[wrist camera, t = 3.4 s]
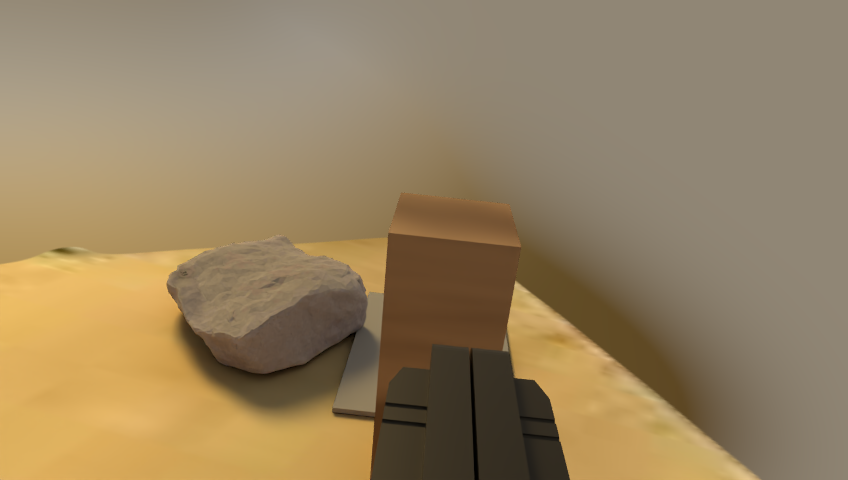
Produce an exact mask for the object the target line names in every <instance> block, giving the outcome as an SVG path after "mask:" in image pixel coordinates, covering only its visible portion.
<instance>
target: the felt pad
mask: <svg viewBox="0 0 848 480" xmlns="http://www.w3.org/2000/svg"><path fill="white" fill-rule="evenodd" d="M367 300H368V306H367V310H366V320H365V323H364V325H363V326H362V327H361V328H360V329H359V330H357V332H356V336H355V339H354V342H353V345H352V348H351V351H350V354H349V358H348V361H347V364H346V367H345V370H344V373H343V376H342V379H341V383H340V386H339V389H338V392H337V395H336V398H335V401H334V405H333V409H332V412H336V413H345V414H354V415H362V416H371V417H375V408H376V394H377V381H378V368H379V354H380V341H381V327H382V314H383V300H384V294H383V293H374V292H369V295H368V298H367ZM503 351H508V344H507V338H506V334H505V340H504V346H503ZM508 352H509V351H508Z"/></svg>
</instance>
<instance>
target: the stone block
mask: <svg viewBox="0 0 848 480" xmlns="http://www.w3.org/2000/svg"><path fill="white" fill-rule="evenodd" d="M167 288H168V292H169V293H170V295H171V296H172V298H173V299H174V300H175V302H176V303H177V304H178V308H179V309H180V310H181V311H182V312H183V314H184V317H185V320H186V321H187V322H188V324H189V325H190V326H191V328H192V329H193V331H194V332H195V334H197V335H198V336H200V337H201V338H202V339H203V340H204V342H205V344H206V345H207V346H208V347H209V348H210V350H211V352H212V354H213V356H214V357H215V358H216V360H217V361H218V362H220V363H222V364H223V365H226V366H232V367H235V368H238V369H241V370H244V371H248V372H251V373H262V374H266V373H270V372H274V371H277V370H281V369H285V368H288V367H292V366H296V365H303V364H305V363H307V362H308V361H310V360H311V359H312V358H313V357H315V356H316V355H318V354H320V353H321V352H323V351H324V350H325V349H327V348H329V347H330V346H332V345H334V344H336V343H339V342H340V341H341V340H343V339H344V338H346V337H347V336H348V335H349V334H352V333H354V332H356V331H357V330H359V329H360V328H361V327H362V326H363V325H364V323H365V320H366V310H367V306H368V300H367V296H366V294H365V291H366V289H365V287H364V285H363V282H362V279H361V277H360V275H358V274H357V273H356V272H354V271H353V270H352V269H351V268H350V267H349V266H348V265H346V264H344V263H342V262H340V261H337V260H334V259H332V258H329V257H326V256H310V255H307V254H305V253H304V252H303V251H302V250H300V249H298V248H295V246H294V245H293V244H292V243H291V242H290V240H289V239H288V238H287V237H285V236H283V235H275V236H273V237H272V238H269V239H266V240H262V241H249V242H243V243H232V244H229V245H226V246H222V247H217V248H215V249H213V250H208V251H204V252H203V253H201V254H199V255H197V256H196V257H194V258H192V259H190V260H189V261H187V262H185V263H182V264H180V265H178V266H177V270H176V271H174V272H172V273H171V274H170V275H169V278H168V281H167Z"/></svg>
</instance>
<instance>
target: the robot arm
mask: <svg viewBox="0 0 848 480" xmlns="http://www.w3.org/2000/svg"><path fill="white" fill-rule="evenodd" d="M371 480H570V478H569V474H568V470H567V466H566V462H565V458H564V454H563V450H562V446H561V442H559V434H558V430H557V426H556V424H555V418H554V414H553V410H552V407H551V403H550V399H549V398H548V396H547V395H546V394H545V393H544V392H543V390H542V389H541V388H540V387H539V385H538V384H537V383H536V382H535V381H534V380H526V379H517V378H513V373H512V367H511V361H510V355H509V352H508V351H499V350H489V349H479V348H471V350H470V355H469V348H468V347H458V346H449V345H439V344H432V350H431V360H430V369H429V370H428V369H419V368H409V367H402V369H401V370H400V371H399V372H398V373H397V374H396V375H395V376H394V378H393V379H392V380H391V381H390V382H389V386H388V391H387V396H386V402H385V407H384V412H383V418H382V423H381V428H380V434H379V439H378V444H377V450H376V455H375V460H374V466H373V471H372V476H371Z"/></svg>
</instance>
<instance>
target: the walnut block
mask: <svg viewBox="0 0 848 480" xmlns="http://www.w3.org/2000/svg"><path fill="white" fill-rule="evenodd" d="M520 251H521V245H520V241H519V238H518V234H517V230H516V227H515V224H514V220H513V216H512V213H511V209H510V206H509V204H502V203H492V202H483V201H473V200H465V199H455V198H446V197H437V196H428V195H418V194H409V193H401V195H400V198H399V201H398V204H397V208H396V211H395V214H394V217H393V220H392V223H391V227H390V230H389V235H388V247H387V260H386V274H385V287H384V300H383V314H382V327H381V341H380V354H379V368H378V381H377V394H376V408H375V421H374V435H373V448H372V462H371V475H370V480H371V476H372V471H373V466H374V460H375V455H376V450H377V444H378V439H379V434H380V428H381V423H382V418H383V412H384V407H385V402H386V396H387V391H388V386H389V382H390V381H391V380H392V379H393V378H394V376H395V375H396V374H397V373H398V372H399V371H400V370H401V369H402V367H409V368H419V369H428V370H429V369H430V360H431V350H432V344H439V345H449V346H458V347H468V348H469V355H470V350H471V348H479V349H489V350H499V351H503V346H504V340H505V334H506V329H507V323H508V318H509V312H510V307H511V301H512V296H513V290H514V285H515V279H516V273H517V268H518V262H519V256H520Z"/></svg>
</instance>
